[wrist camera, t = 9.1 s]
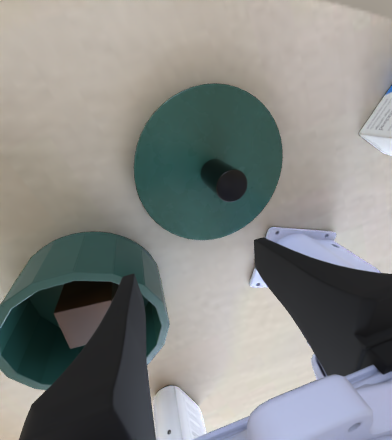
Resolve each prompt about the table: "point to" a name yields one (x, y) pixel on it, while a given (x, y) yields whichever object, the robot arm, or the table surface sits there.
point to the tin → (49, 295)
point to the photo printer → (177, 415)
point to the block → (83, 309)
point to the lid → (208, 161)
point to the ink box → (380, 125)
